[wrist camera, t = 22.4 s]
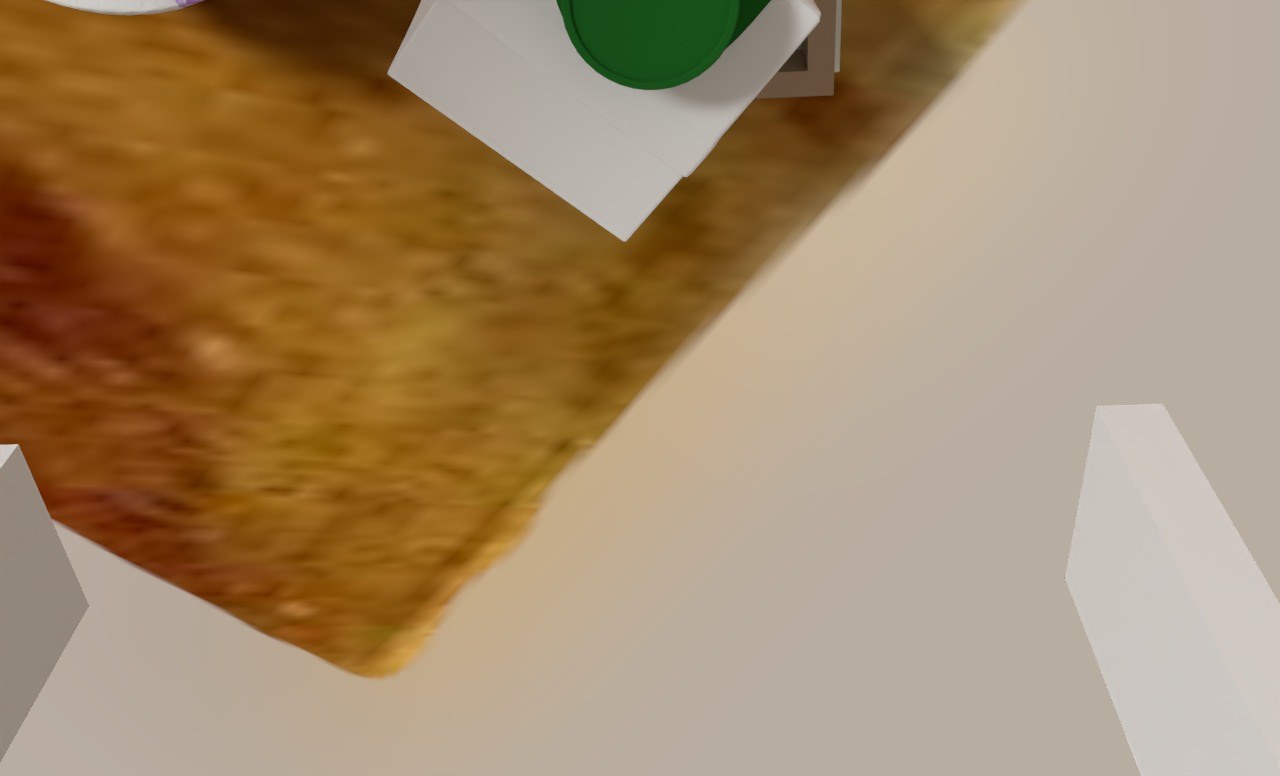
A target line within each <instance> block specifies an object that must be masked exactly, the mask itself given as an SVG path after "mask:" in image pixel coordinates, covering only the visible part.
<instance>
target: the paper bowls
mask: <svg viewBox="0 0 1280 776" xmlns="http://www.w3.org/2000/svg"><path fill="white" fill-rule="evenodd" d="M46 1H49V2H52V3H55V4H59V5H62V6H65V7H71V8H74V9H78V10H83V11H89V12H95V13H101V14H112V15H140V14H154V13H162V12H168V11H171V10H179V9H182V8H185V7H187V6H190V5H193V4H196V3H199V2H201V1H204V0H46Z"/></svg>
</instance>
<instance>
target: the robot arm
mask: <svg viewBox="0 0 1280 776" xmlns="http://www.w3.org/2000/svg"><path fill="white" fill-rule="evenodd" d="M1065 580H1066V583H1067V586H1068V588H1069V591H1070V593H1071V596H1072V599H1073V601H1074V604H1075V606H1076V609H1077V612H1078V614H1079V617H1080V619H1081V622H1082V624H1083V627H1084V630H1085V632H1086V635H1087V637H1088V640H1089V642H1090V645H1091V648H1092V650H1093V653H1094V655H1095V658H1096V661H1097V663H1098V666H1099V668H1100V671H1101V674H1102V676H1103V679H1104V681H1105V684H1106V686H1107V689H1108V692H1109V694H1110V697H1111V699H1112V702H1113V705H1114V707H1115V710H1116V712H1117V715H1118V717H1119V720H1120V722H1121V725H1122V728H1123V730H1124V733H1125V735H1126V738H1127V741H1128V743H1129V746H1130V748H1131V751H1132V753H1133V756H1134V758H1135V761H1136V764H1137V767H1138V769H1139V772H1140V774H1141V776H1280V603H1279V601H1278V600H1277V598H1276V596H1275V594H1274V593H1273V591H1272V589H1271V588H1270V586H1269V584H1268V583H1267V581H1266V579H1265V577H1264V576H1263V574H1262V572H1261V570H1260V569H1259V567H1258V566H1257V564H1256V562H1255V560H1254V559H1253V557H1252V555H1251V554H1250V552H1249V550H1248V548H1247V547H1246V545H1245V543H1244V541H1243V540H1242V538H1241V537H1240V535H1239V533H1238V531H1237V530H1236V528H1235V526H1234V524H1233V523H1232V521H1231V519H1230V518H1229V516H1228V514H1227V512H1226V511H1225V509H1224V507H1223V506H1222V504H1221V502H1220V501H1219V499H1218V497H1217V495H1216V494H1215V492H1214V490H1213V489H1212V487H1211V485H1210V484H1209V482H1208V480H1207V478H1206V477H1205V475H1204V473H1203V472H1202V470H1201V468H1200V466H1199V465H1198V463H1197V461H1196V460H1195V458H1194V456H1193V455H1192V453H1191V451H1190V449H1189V448H1188V446H1187V444H1186V443H1185V441H1184V439H1183V437H1182V436H1181V434H1180V432H1179V431H1178V429H1177V427H1176V425H1175V424H1174V422H1173V420H1172V419H1171V417H1170V415H1169V414H1168V412H1167V410H1166V408H1165V407H1164V405H1163V404H1162V403H1159V404H1134V405H1133V404H1131V405H1103V406H1096V410H1095V416H1094V421H1093V426H1092V432H1091V437H1090V443H1089V448H1088V454H1087V459H1086V464H1085V470H1084V475H1083V481H1082V486H1081V492H1080V497H1079V502H1078V508H1077V514H1076V519H1075V525H1074V530H1073V535H1072V540H1071V546H1070V551H1069V557H1068V562H1067V568H1066V573H1065ZM88 606H89V605H88V602H87V600H86V598H85V596H84V593H83V591H82V589H81V586H80V584H79V582H78V579H77V577H76V575H75V573H74V570H73V568H72V566H71V563H70V561H69V559H68V557H67V554H66V552H65V550H64V547H63V545H62V543H61V541H60V538H59V536H58V534H57V531H56V529H55V527H54V525H53V522H52V520H51V518H50V515H49V513H48V511H47V509H46V506H45V504H44V502H43V499H42V497H41V495H40V493H39V490H38V488H37V486H36V483H35V481H34V479H33V477H32V474H31V472H30V470H29V467H28V465H27V463H26V461H25V458H24V456H23V454H22V451H21V449H20V447H19V445H18V444H14V445H0V762H1V760H2V758H3V757H4V755H5V753H6V751H7V749H8V748H9V746H10V744H11V742H12V741H13V739H14V737H15V735H16V734H17V732H18V730H19V728H20V727H21V725H22V723H23V721H24V719H25V718H26V716H27V714H28V712H29V711H30V709H31V707H32V705H33V704H34V702H35V700H36V698H37V697H38V694H39V693H40V691H41V689H42V688H43V686H44V684H45V682H46V681H47V678H48V677H49V675H50V673H51V672H52V670H53V668H54V666H55V664H56V663H57V661H58V659H59V657H60V656H61V654H62V652H63V650H64V649H65V647H66V645H67V644H68V642H69V640H70V638H71V636H72V634H73V633H74V631H75V629H76V627H77V626H78V624H79V622H80V620H81V619H82V617H83V615H84V613H85V612H86V610H87V608H88Z"/></svg>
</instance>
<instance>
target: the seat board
mask: <svg viewBox="0 0 1280 776" xmlns="http://www.w3.org/2000/svg"><path fill="white" fill-rule="evenodd" d="M814 2H815V4H816V5H817V7H818V9H819V10H820V12H821V16H820V22H819V23H818V24H817V26H816V27H815V28H814V29H813V30H812V32H811V33H810V34H809V35H808V36H807V37H806V39H805V40H804V41H803V42H802V43H801V44H800V46H799V47H798V48H797V49H796V50H795V51H794V53H793V54H792V55H791V56H790V57H789V59H788V60H787V61H786V62H785V63H784V64H783V66H782V67H781V68H780V69H779V70H778V71H777V73H776V74H775V75H774V76H773V77H772V78H771V80H770V81H769V82H768V83H767V84H766V86H765V87H764V88H763V89H762V90H761V91H760V93H759V94H758V95H757V96H756V97H755V98H754V99H768V98H789V97H809V96H829V95H834V72H840V44H841V13H842V0H814Z"/></svg>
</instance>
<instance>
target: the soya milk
mask: <svg viewBox="0 0 1280 776" xmlns="http://www.w3.org/2000/svg"><path fill="white" fill-rule="evenodd" d="M820 16H821V12H820V10H819V9H818V7H817V5H816V4H815V2H814V0H421V2H420V4H419V7H418V9H417V11H416V14H415V16H414V18H413V20H412V22H411V25H410V27H409V29H408V31H407V33H406V36H405V38H404V40H403V42H402V44H401V46H400V48H399V50H398V52H397V54H396V56H395V58H394V60H393V62H392V64H391V66H390V68H389V71H388V75H389V76H390V77H392V78H393V79H394V80H396V81H397V82H399V83H400V84H402V85H403V86H404V87H406V88H407V89H409V90H410V91H411V92H413V93H414V94H416V95H417V96H418V97H420V98H421V99H423V100H424V101H426V102H427V103H428V104H430V105H431V106H433V107H434V108H435V109H437V110H438V111H440V112H441V113H442V114H444V115H445V116H447V117H448V118H450V119H451V120H452V121H454V122H455V123H457V124H458V125H459V126H461V127H462V128H464V129H465V130H466V131H468V132H469V133H471V134H472V135H474V136H475V137H476V138H478V139H479V140H481V141H482V142H483V143H485V144H486V145H488V146H489V147H490V148H492V149H493V150H495V151H496V152H498V153H499V154H500V155H502V156H503V157H505V158H506V159H507V160H509V161H510V162H512V163H513V164H514V165H516V166H517V167H519V168H520V169H522V170H523V171H524V172H526V173H527V174H529V175H530V176H531V177H533V178H534V179H536V180H537V181H538V182H540V183H541V184H543V185H544V186H546V187H547V188H548V189H550V190H551V191H553V192H554V193H555V194H557V195H558V196H560V197H561V198H562V199H564V200H565V201H567V202H568V203H570V204H571V205H572V206H574V207H575V208H577V209H578V210H579V211H581V212H582V213H584V214H585V215H586V216H588V217H589V218H591V219H592V220H594V221H595V222H596V223H598V224H599V225H601V226H602V227H603V228H605V229H606V230H608V231H609V232H610V233H612V234H613V235H615V236H616V237H618V238H619V239H620V240H622V241H624V242H626V241H627V240H628V239H629V238H630V237H631V235H632V234H633V233H634V232H635V231H636V230H637V229H638V228H639V226H640V225H641V224H642V223H643V222H644V221H645V220H646V218H647V217H648V216H649V215H650V214H651V213H652V212H653V210H654V209H655V208H656V207H657V206H658V205H659V203H660V202H661V201H662V200H663V199H664V198H665V197H666V195H667V194H668V193H669V192H670V191H671V190H672V189H673V187H674V186H675V185H676V184H677V183H678V182H679V181H680V179H681V178H682V177H683V176H684V177H688V176H689V175H691V174H692V173H693V171H694V170H695V169H696V168H697V167H698V166H699V165H700V164H701V163H702V161H703V160H704V159H705V158H706V157H707V155H708V154H709V153H710V152H711V151H712V150H713V148H714V147H715V146H716V144H717V143H718V141H719V140H720V138H721V137H722V136H723V134H724V133H725V132H726V131H727V130H728V129H729V128H730V127H731V125H732V124H733V123H734V122H735V121H736V120H737V118H738V117H739V116H740V115H741V114H742V112H743V111H744V110H745V109H746V108H747V107H748V105H749V104H750V103H751V102H752V101H753V100H754V98H755V97H756V96H757V95H758V94H759V93H760V91H761V90H762V89H763V88H764V87H765V86H766V84H767V83H768V82H769V81H770V80H771V78H772V77H773V76H774V75H775V74H776V73H777V71H778V70H779V69H780V68H781V67H782V66H783V64H784V63H785V62H786V61H787V60H788V59H789V57H790V56H791V55H792V54H793V53H794V51H795V50H796V49H797V48H798V47H799V46H800V44H801V43H802V42H803V41H804V40H805V39H806V37H807V36H808V35H809V34H810V33H811V32H812V30H813V29H814V28H815V27H816V26H817V24H818V23H819V22H820Z"/></svg>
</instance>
